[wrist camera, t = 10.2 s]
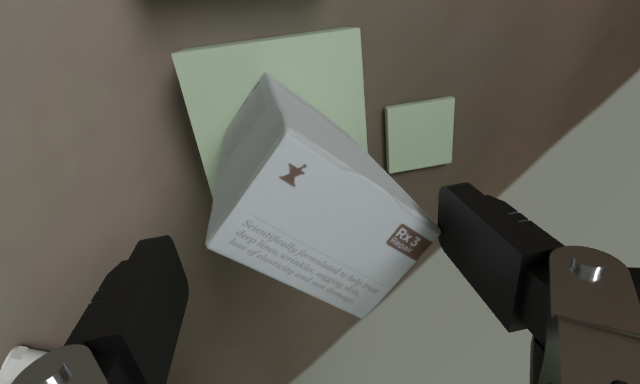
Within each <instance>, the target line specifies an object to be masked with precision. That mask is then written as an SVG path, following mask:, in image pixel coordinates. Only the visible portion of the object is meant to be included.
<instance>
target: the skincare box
mask: <svg viewBox="0 0 640 384" xmlns="http://www.w3.org/2000/svg"><path fill="white" fill-rule="evenodd" d="M440 234H441V230H440V228H439V227H438V226H437V225H436V224H435V222H434V221H433V220H432V219H431V218H430V217H429V216H428V215H427V214H426V213H425V212H424V211H423V210H422V208H421V207H420V206H419V205H418V204H417V203H416V202H415V201H414V200H413V199H412V198H411V197H410V196H409V195H408V194H407V193H406V192H405V191H404V190H403V189H402V188H401V187H400V186H399V185H398V184H397V183H396V182H395V181H394V180H393V179H392V178H391V177H390V176H389V175H388V174H387V173H386V171H385V170H384V169H383V168H382V167H381V166H380V165H379V164H378V163H377V162H376V161H375V160H374V159H373V158H372V157H371V156H370V155H369V154H368V153H367V152H366V151H365V150H364V149H363V148H362V147H361V146H360V145H359V144H358V143H357V142H356V141H355V140H354V139H353V138H352V137H351V136H350V135H349V134H348V133H347V132H346V131H345V130H344V129H343V128H342V127H340V126H339V125H338V124H336V123H335V122H334V121H332V120H331V119H330V118H328V117H327V116H326V115H324V114H323V113H322V112H320V111H319V110H318V109H316V108H315V107H314V106H312V105H311V104H310V103H308V102H307V101H306V100H304V99H303V98H301V97H300V96H299V95H297V94H296V93H295V92H293V91H292V90H290V89H289V88H288V87H286V86H285V85H283V84H282V83H281V82H279V81H278V80H277V79H275V78H274V77H273V76H271V75H270V74H268V73H266V72H265V73H263V74H262V76H261V77H260V79H259V80H258V82H257V84H256V85H255V86H254V88H253V89H252V91H251V92H250V94H249V95H248V97H247V98H246V100H245V101H244V103H243V104H242V106H241V108H240V109H239V111H238V112H237V114H236V115H235V117H234V118H233V120H232V121H231V123H230V125H229V126H228V128H227V130H226V137H225V142H224V146H223V152H222V157H221V162H220V167H219V173H218V178H217V183H216V188H215V194H214V198H213V204H212V212H211V216H210V220H209V224H208V229H207V234H206V242H205V244H206V247H207V249H209V250H212V251H214V252H216V253H218V254H220V255H223V256H225V257H227V258H229V259H232V260H234V261H236V262H238V263H241V264H243V265H245V266H247V267H250V268H252V269H254V270H256V271H258V272H260V273H263V274H265V275H267V276H269V277H272V278H274V279H276V280H278V281H280V282H283V283H285V284H287V285H289V286H291V287H294V288H296V289H298V290H300V291H302V292H305V293H307V294H309V295H311V296H313V297H315V298H317V299H320V300H322V301H324V302H326V303H328V304H331V305H333V306H335V307H337V308H339V309H341V310H344V311H346V312H348V313H350V314H352V315H354V316H356V317H358V318H360V319H363V318H365V317H366V316H367V314H368V313H369V312H370V311H371V310H372V309H373V308H374V307H375V306H376V305H377V304H378V303H379V302H380V301H381V300H382V299H383V298H384V296H385V295H386V294H387V293H388V292H389V291H390V290H391V289H392V288H393V287H394V285H395V284H396V283H397V282H398V281H399V280H400V279H401V278H402V276H403V275H404V274H405V273H406V272H407V271H408V270H409V269H410V268H411V267H412V265H413V264H414V263H415V262H416V261H417V260H418V258H419V257H420V256H421V255H422V254H423V253H424V252H425V251H426V249H427V248H428V247H429V246H430V245H431V244H432V243H433V242H434V241H435V240H436V239H437V238H438V237H439V235H440Z"/></svg>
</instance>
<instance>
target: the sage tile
mask: <svg viewBox="0 0 640 384" xmlns="http://www.w3.org/2000/svg"><path fill="white" fill-rule="evenodd" d="M454 105H455V98H454V97H451V96H449V97H443V98H437V99H430V100H424V101H418V102H411V103H405V104H399V105H393V106H386V107H385V131H386V158H387V171H388V172H389V174H390V173H396V172H401V171H407V170H413V169H418V168H424V167H430V166H435V165H441V164H447V163H452V144H453V125H454Z"/></svg>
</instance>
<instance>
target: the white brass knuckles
mask: <svg viewBox="0 0 640 384" xmlns="http://www.w3.org/2000/svg"><path fill="white" fill-rule="evenodd" d="M46 353H48V352H46V351H40V350H35V349H29V348H28V347H24V346H15V347H14V348H13V349H12V350H11V351H10V353H9V354H8V356H7V357H6V359H5V361H4V363H3V365H2V367H1V370H0V384H11V383H12V382H13V381H14V379H15V378H16V377H17V376H18V375H19V374H20V373H21V372H22V371H23V370H24V369H25V368H26V367H27V366H28V365H30V364H31V363H32V362H34V361H35V360H36V359H38V358H40V357H41V356H43V355H45V354H46Z"/></svg>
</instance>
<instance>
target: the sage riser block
mask: <svg viewBox="0 0 640 384" xmlns="http://www.w3.org/2000/svg"><path fill="white" fill-rule="evenodd" d="M171 55H172V58H173V62H174V65H175V69H176V72H177V76H178V79H179V83H180V86H181V90H182V93H183V97H184V100H185V104H186V107H187V111H188V114H189V118H190V121H191V125H192V128H193V132H194V135H195V139H196V142H197V146H198V149H199V152H200V156H201V159H202V163H203V166H204V170H205V173H206V177H207V180H208V184H209V187H210V191H211V194H212V198H214V194H215V188H216V183H217V178H218V173H219V167H220V162H221V157H222V152H223V146H224V142H225V137H226V130H227V128H228V126H229V125H230V123H231V121H232V120H233V118H234V117H235V115H236V114H237V112H238V111H239V109H240V108H241V106H242V104H243V103H244V101H245V100H246V98H247V97H248V95H249V94H250V92H251V91H252V89H253V88H254V86H255V85H256V84H257V82H258V80H259V79H260V77H261V76H262V74H263V73H265V72H266V73H268V74H270V75H271V76H273V77H274V78H275V79H277V80H278V81H279V82H281V83H282V84H283V85H285V86H286V87H288V88H289V89H290V90H292V91H293V92H295V93H296V94H297V95H299V96H300V97H301V98H303V99H304V100H306V101H307V102H308V103H310V104H311V105H312V106H314V107H315V108H316V109H318V110H319V111H320V112H322V113H323V114H324V115H326V116H327V117H328V118H330V119H331V120H332V121H334V122H335V123H336V124H338V125H339V126H340V127H342V128H343V129H344V130H345V131H346V132H347V133H348V134H349V135H350V136H351V137H352V138H353V139H354V140H355V141H356V142H357V143H358V144H359V145H360V146H361V147H362V148H363V149H364V150H365V151H366V152H367V153H368V150H367V133H366V117H365V101H364V85H363V68H362V52H361V36H360V28H351V27H342V28H335V29H327V30H320V31H313V32H305V33H298V34H291V35H283V36H276V37H269V38H261V39H254V40H247V41H239V42H232V43H225V44H217V45H210V46H203V47H195V48H188V49H184V50H181V51H178V52H175V53H172V54H171Z"/></svg>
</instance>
